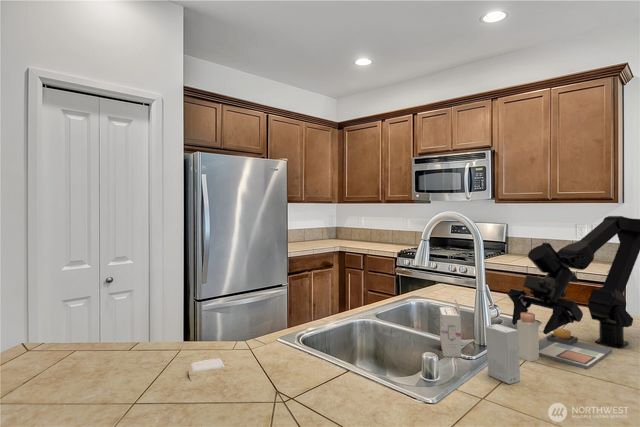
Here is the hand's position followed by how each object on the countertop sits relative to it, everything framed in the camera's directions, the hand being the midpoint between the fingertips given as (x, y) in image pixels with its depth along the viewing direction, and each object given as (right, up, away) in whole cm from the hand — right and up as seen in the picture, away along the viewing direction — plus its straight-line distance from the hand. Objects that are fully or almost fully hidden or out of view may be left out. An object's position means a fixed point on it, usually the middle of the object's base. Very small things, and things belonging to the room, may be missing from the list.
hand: (528, 328), depth 103 cm
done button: (+16, -5, +10) cm, 20 cm away
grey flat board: (+13, -8, +4) cm, 16 cm away
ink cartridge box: (-19, -9, +6) cm, 22 cm away
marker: (0, -8, 0) cm, 8 cm away
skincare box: (-13, -9, -12) cm, 19 cm away
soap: (-85, -10, -6) cm, 86 cm away
